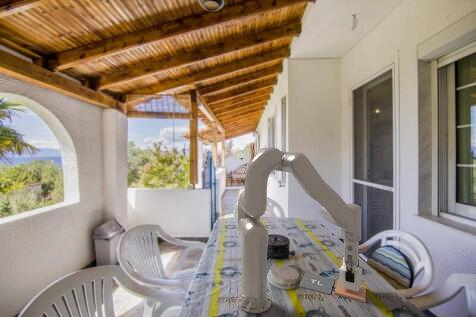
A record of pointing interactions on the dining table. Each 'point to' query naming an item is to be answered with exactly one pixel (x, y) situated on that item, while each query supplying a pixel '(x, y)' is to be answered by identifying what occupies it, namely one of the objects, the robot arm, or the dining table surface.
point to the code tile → (317, 283)
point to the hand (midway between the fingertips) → (350, 276)
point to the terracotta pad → (351, 293)
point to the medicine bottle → (357, 277)
